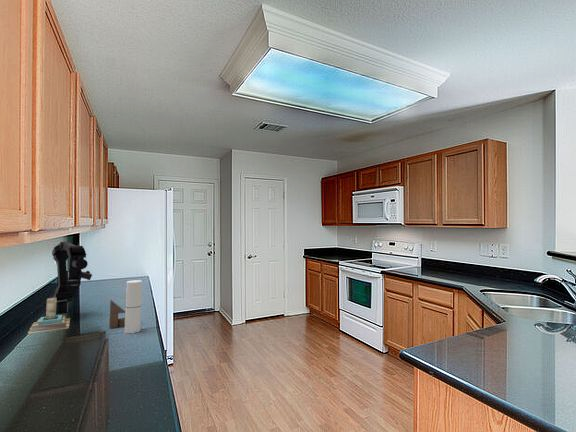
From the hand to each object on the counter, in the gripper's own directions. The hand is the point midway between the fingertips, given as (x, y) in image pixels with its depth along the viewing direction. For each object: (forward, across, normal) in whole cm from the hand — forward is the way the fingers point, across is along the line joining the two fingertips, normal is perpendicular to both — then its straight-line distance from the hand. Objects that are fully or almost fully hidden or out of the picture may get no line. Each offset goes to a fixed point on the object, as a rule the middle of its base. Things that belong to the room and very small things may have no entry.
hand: (73, 295), depth 175 cm
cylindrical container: (+13, -40, -26) cm, 49 cm away
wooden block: (+13, -28, -22) cm, 38 cm away
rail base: (+13, -12, +9) cm, 20 cm away
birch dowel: (+11, -14, +9) cm, 20 cm away
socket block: (+12, -14, +9) cm, 20 cm away
